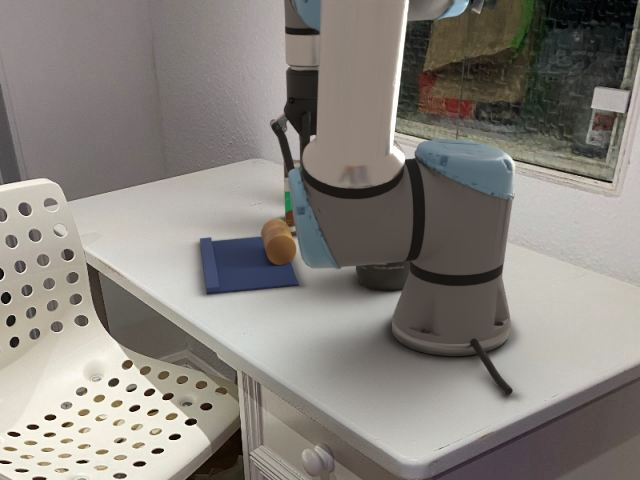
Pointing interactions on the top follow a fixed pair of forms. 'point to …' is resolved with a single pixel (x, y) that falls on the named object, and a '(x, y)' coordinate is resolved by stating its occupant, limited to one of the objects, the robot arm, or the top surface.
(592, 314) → the top surface
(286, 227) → the roller
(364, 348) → the top surface
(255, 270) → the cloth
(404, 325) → the robot arm
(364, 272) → the jar
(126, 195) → the top surface
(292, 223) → the food container
